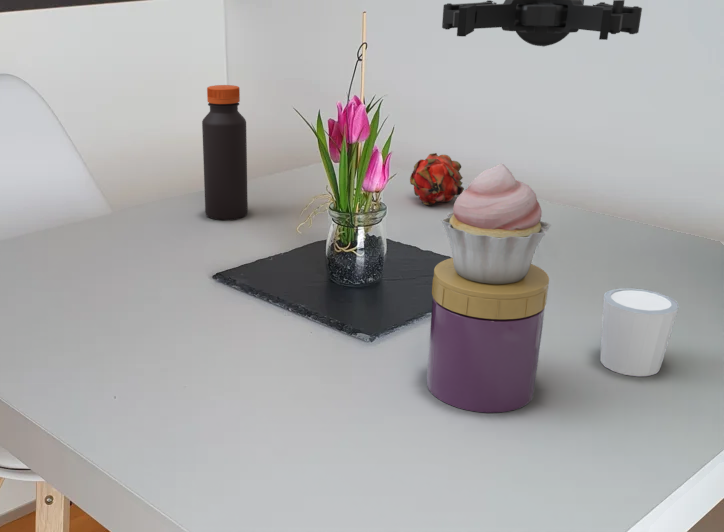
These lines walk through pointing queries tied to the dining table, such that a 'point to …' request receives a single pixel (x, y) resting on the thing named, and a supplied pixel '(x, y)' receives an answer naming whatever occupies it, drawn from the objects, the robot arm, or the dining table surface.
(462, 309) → the jar lid
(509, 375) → the jar
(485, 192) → the cupcake
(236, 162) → the bottle
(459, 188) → the dragon fruit
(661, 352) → the shot glass
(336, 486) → the dining table surface
